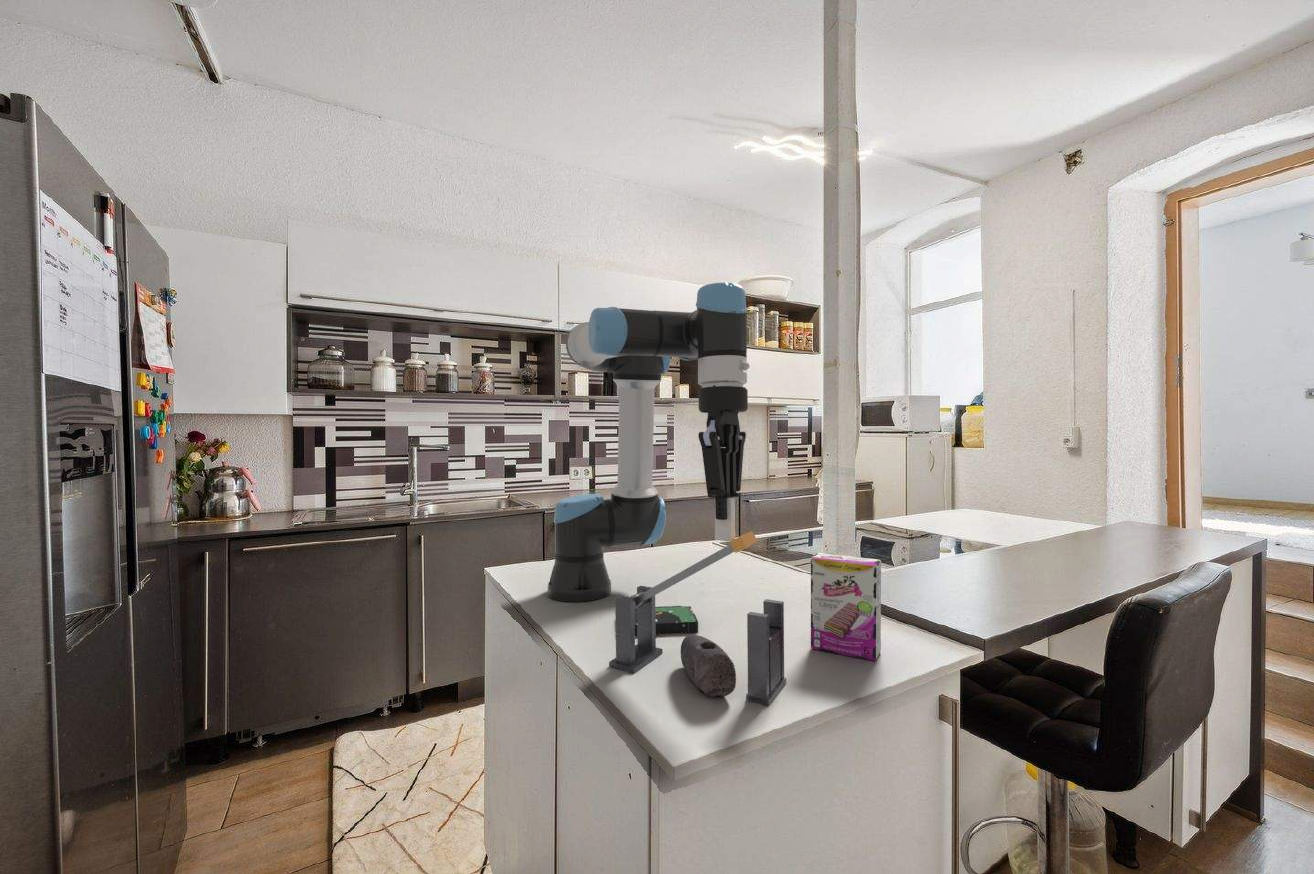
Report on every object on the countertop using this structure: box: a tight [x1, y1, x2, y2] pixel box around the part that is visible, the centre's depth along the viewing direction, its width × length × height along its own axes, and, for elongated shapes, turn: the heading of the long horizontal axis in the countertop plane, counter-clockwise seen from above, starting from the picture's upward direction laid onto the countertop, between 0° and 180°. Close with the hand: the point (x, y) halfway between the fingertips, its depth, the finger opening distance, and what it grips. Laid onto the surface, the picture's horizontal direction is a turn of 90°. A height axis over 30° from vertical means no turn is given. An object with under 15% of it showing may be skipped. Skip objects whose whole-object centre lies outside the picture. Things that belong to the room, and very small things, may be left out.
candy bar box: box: [810, 552, 882, 662], centre depth 96 cm, size 11×5×16 cm, turn 59°
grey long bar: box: [630, 530, 759, 609], centre depth 88 cm, size 5×25×2 cm
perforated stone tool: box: [680, 634, 737, 698], centre depth 85 cm, size 15×5×7 cm, turn 17°
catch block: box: [745, 598, 787, 707], centre depth 81 cm, size 8×3×12 cm, turn 149°
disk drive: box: [635, 605, 699, 637], centre depth 110 cm, size 10×3×15 cm
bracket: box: [608, 585, 664, 674], centre depth 93 cm, size 9×5×12 cm, turn 149°
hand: (725, 539), depth 84 cm, fingers closed
